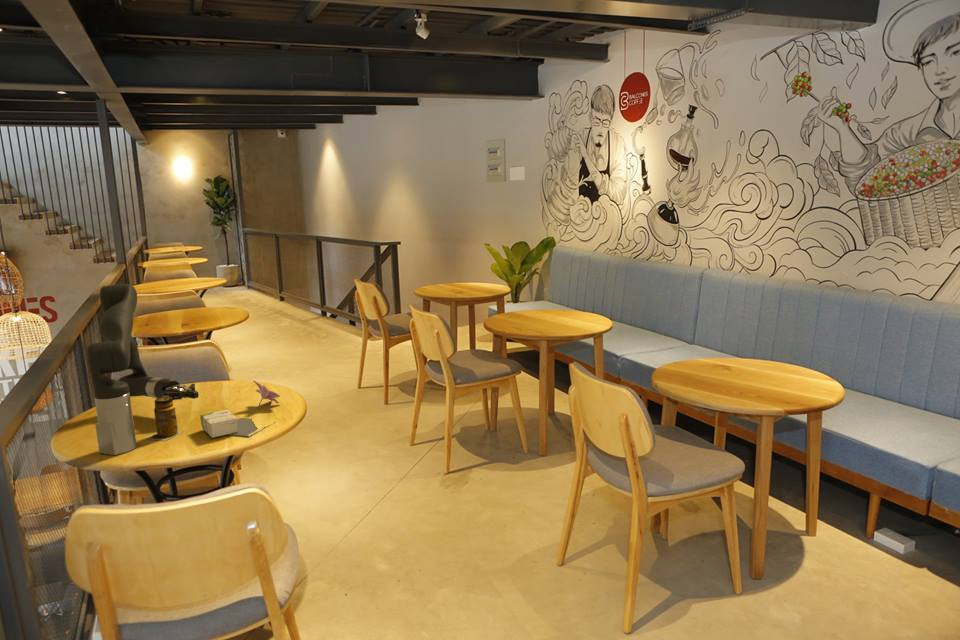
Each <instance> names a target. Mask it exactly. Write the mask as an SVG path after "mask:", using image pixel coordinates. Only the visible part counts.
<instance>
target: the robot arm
mask: <svg viewBox="0 0 960 640" xmlns="http://www.w3.org/2000/svg"><path fill="white" fill-rule="evenodd" d="M99 301H100V305H101V308H102V311H103V314H102V316H101V318H100V323H99V328H98V329H99V333H100V335H101V337H102V338H103V339H104V340H105V341H104V342H103V341H102V342H101V341H100V342H94V343H90V344H89V345H88V346H87V349H86V359H87V366H88V370H89V373H90V378H91V384H92V392H93V398H94V403H95V404H94V405H95V411H96V417H97V418H96V419H97V422H96V423H95V434H96V439H97V445H98V451H99V454H100V453H104V454H103V455H108V454H109V456H117V455H121V454H124V453H128V452H131V451H132V450H134V449H136V448H137V446H138V443H137V436H136V431H135V430H136V429H135V421H134V417H133V414H134V413H133V409H132V408H133V407H132V402H131V401H132V400H131V397H144V396H145V397H148V398H152V399H154V400H156V399H158V398H161V397H172V399H173V401H178V400H182V399H199V395H200V394H199V391H198V390H196V386H195V385H196V384H195V383H191V384H190V385H189V386H187V385H186V384H181V383H179V382H178V380H176V379H171V378H166V377H165V378H164V377H155V376H149V375H148V373H147V371H146V370H145V368H144V366H143V363H142V362H141V359H140V352H139V347H138V343H137V340H136V339H135V338H134V337H133V336H132V332H133V326H134V314H135V312H136V308H137V304H138V293H137V290H136V288H135V287H134V285H132V284H130V283H120V284H111V285H104V286H101V288H100V290H99ZM126 370H131V371H132V373H131V374H127V375H124V376H121V377H120V378H119V379H114V378H111V377H109V376H107V375H106V374H111V373H113V374H114V373H118V372H119V373H120V372H124V371H126Z"/></svg>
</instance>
